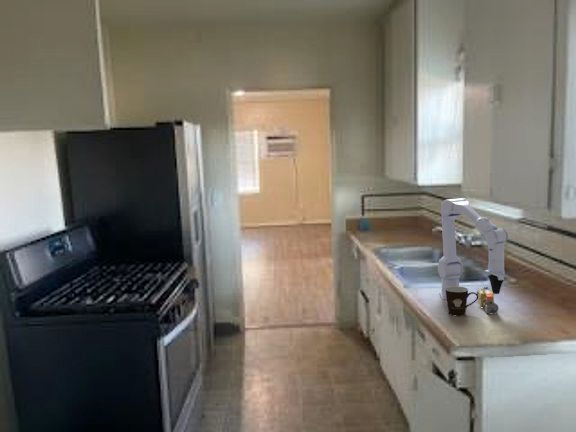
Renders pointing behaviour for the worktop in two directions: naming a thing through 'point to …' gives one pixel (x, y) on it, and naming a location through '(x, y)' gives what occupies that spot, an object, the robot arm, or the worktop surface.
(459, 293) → the coffee mug
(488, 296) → the valve lever
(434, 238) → the worktop surface
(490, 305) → the pipe valve
